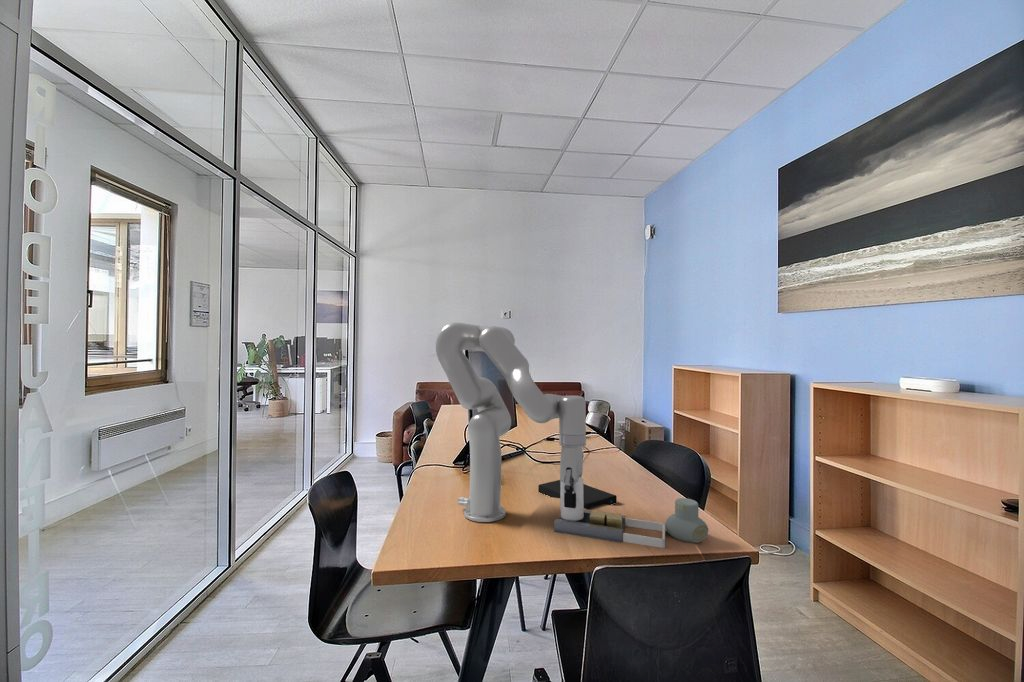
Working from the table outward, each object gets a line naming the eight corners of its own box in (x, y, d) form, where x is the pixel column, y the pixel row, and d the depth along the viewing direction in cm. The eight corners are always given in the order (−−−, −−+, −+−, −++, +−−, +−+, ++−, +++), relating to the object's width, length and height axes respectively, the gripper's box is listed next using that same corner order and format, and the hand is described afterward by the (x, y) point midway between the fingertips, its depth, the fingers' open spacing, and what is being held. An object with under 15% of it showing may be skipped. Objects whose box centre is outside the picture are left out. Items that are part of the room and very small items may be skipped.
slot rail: (553, 535, 116) (553, 522, 116) (564, 517, 129) (564, 506, 129) (621, 546, 110) (621, 532, 110) (625, 527, 123) (625, 514, 123)
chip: (606, 533, 116) (606, 518, 116) (605, 527, 120) (606, 513, 120) (621, 534, 115) (622, 519, 115) (620, 528, 119) (620, 514, 119)
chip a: (589, 530, 118) (589, 515, 118) (591, 524, 121) (591, 510, 121) (604, 532, 116) (604, 517, 116) (606, 527, 120) (606, 512, 120)
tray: (623, 545, 111) (623, 533, 111) (626, 528, 122) (626, 517, 122) (664, 552, 108) (664, 540, 108) (664, 534, 118) (664, 523, 118)
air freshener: (685, 529, 122) (685, 493, 122) (712, 540, 115) (712, 502, 115) (660, 537, 116) (660, 500, 117) (687, 549, 109) (687, 510, 110)
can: (570, 511, 126) (570, 470, 126) (588, 517, 121) (587, 474, 121) (555, 517, 122) (555, 474, 122) (573, 523, 117) (573, 479, 117)
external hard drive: (567, 486, 160) (567, 478, 160) (616, 504, 142) (616, 495, 142) (538, 493, 152) (538, 484, 152) (587, 513, 133) (587, 504, 133)
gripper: (566, 433, 131) (566, 492, 131) (552, 444, 115) (552, 512, 114) (590, 434, 129) (591, 495, 128) (580, 446, 112) (580, 515, 112)
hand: (572, 502), depth 121 cm, fingers closed on can, 6 cm apart
